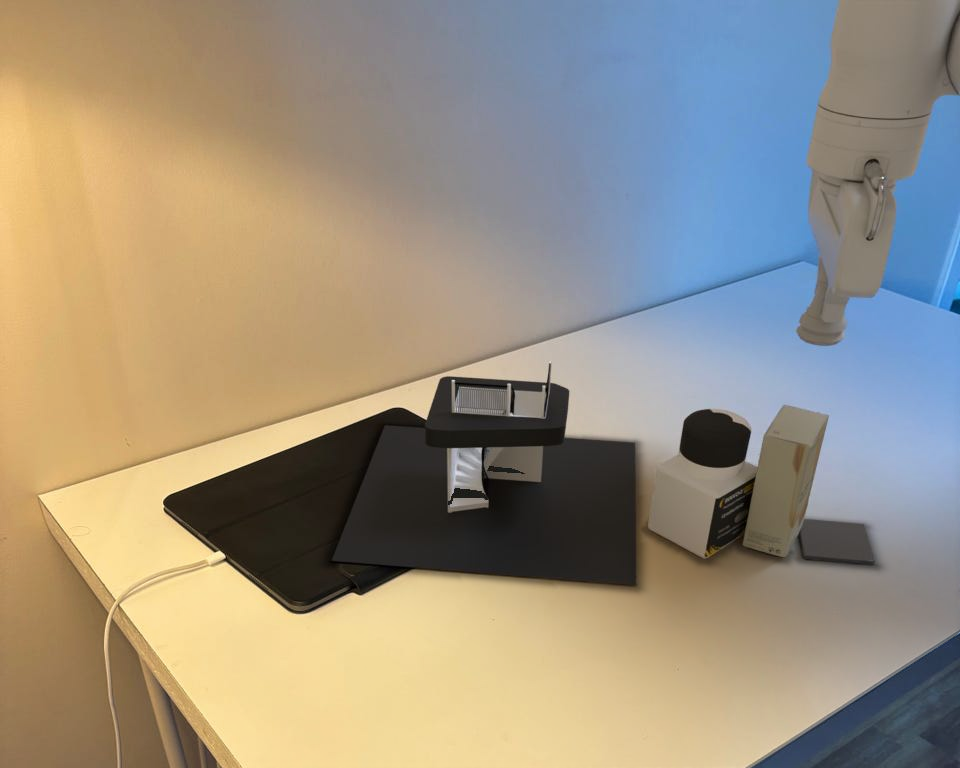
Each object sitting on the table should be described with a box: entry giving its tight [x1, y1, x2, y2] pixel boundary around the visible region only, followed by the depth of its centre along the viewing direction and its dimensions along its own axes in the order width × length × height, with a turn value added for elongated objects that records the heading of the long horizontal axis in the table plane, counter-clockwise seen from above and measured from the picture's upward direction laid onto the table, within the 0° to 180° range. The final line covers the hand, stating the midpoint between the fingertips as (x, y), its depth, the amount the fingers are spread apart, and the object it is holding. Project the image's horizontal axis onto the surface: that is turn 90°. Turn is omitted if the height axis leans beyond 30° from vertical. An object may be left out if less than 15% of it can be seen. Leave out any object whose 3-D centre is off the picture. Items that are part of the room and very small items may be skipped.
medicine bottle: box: [647, 408, 758, 560], centre depth 92 cm, size 7×7×12 cm
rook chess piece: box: [795, 257, 848, 347], centre depth 90 cm, size 4×4×8 cm
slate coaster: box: [798, 518, 876, 566], centre depth 94 cm, size 6×6×1 cm
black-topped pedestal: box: [331, 361, 637, 586], centre depth 96 cm, size 28×26×13 cm
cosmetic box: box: [742, 404, 830, 558], centre depth 91 cm, size 6×4×12 cm
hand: (826, 309), depth 90 cm, fingers closed on rook chess piece, 3 cm apart
